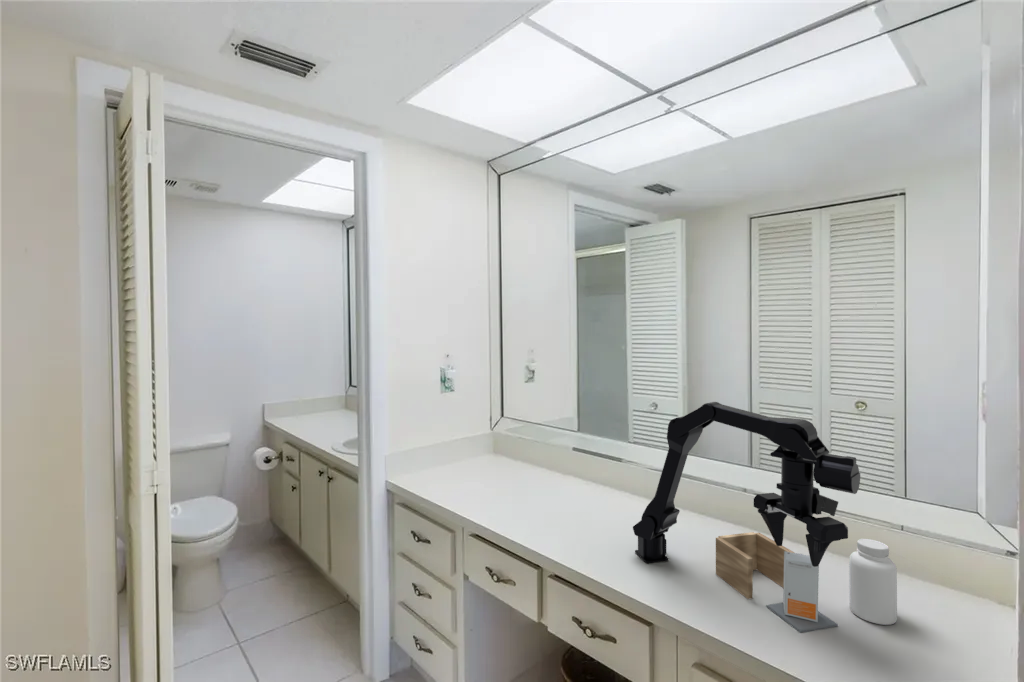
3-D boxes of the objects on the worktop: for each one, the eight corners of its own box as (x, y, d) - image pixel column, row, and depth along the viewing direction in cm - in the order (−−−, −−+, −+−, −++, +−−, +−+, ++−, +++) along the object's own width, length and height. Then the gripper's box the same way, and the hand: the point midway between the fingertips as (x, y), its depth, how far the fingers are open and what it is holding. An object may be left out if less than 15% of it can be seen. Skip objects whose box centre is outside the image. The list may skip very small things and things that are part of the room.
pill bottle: (875, 603, 103) (876, 535, 103) (907, 626, 95) (908, 552, 95) (840, 604, 103) (840, 535, 103) (869, 627, 95) (869, 553, 95)
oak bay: (747, 599, 105) (748, 558, 105) (714, 572, 117) (714, 536, 117) (794, 591, 108) (795, 552, 108) (757, 566, 119) (757, 531, 119)
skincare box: (784, 615, 98) (784, 558, 98) (783, 605, 102) (783, 550, 102) (819, 623, 95) (819, 565, 95) (816, 612, 99) (816, 556, 99)
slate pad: (800, 632, 93) (800, 630, 93) (766, 606, 102) (766, 605, 102) (837, 626, 95) (837, 624, 95) (801, 601, 104) (801, 599, 104)
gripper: (871, 492, 91) (870, 573, 91) (793, 465, 109) (792, 533, 109) (824, 497, 88) (823, 580, 89) (752, 469, 106) (751, 538, 107)
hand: (796, 555), depth 98 cm, fingers open, 9 cm apart
